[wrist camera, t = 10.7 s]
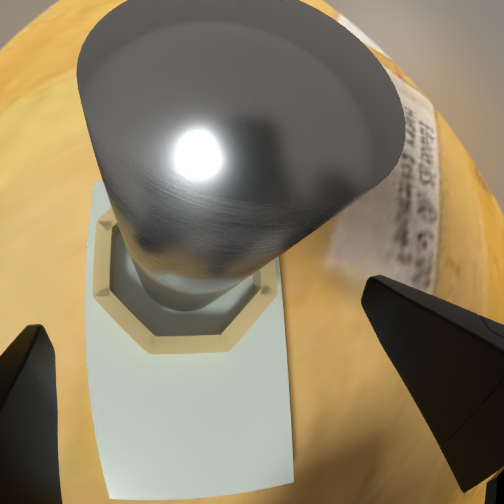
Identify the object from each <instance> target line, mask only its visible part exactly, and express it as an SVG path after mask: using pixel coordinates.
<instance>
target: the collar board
mask: <svg viewBox="0 0 504 504" xmlns="http://www.w3.org/2000/svg"><path fill="white" fill-rule="evenodd" d="M85 342H86V360H87V373H88V383H89V393H90V401H91V409H92V416H93V423H94V429H95V435H96V440H97V446H98V451H99V456H100V461H101V465H102V470H103V474H104V478H105V482H106V486H107V490H108V493H109V497H110V499H127V500H176V499H193V498H205V497H215V496H223V495H231V494H238V493H244V492H250V491H256V490H261V489H266V488H271V487H276V486H280V485H285V484H289V483H293V482H294V472H293V450H292V431H291V413H290V396H289V380H288V366H287V351H286V338H285V325H284V312H283V300H282V288H281V277H280V265H279V256H278V257H277V258H275V259H274V260H272V261H271V262H270V263H268V264H267V265H265V266H264V267H262V268H261V269H260V270H258V271H257V272H255V273H254V274H252V275H251V276H250V277H248V278H247V279H245V280H244V281H242V282H241V283H240V284H238V285H237V286H235V287H234V288H232V289H231V290H230V291H228V292H227V293H225V294H224V295H222V296H221V297H219V298H218V299H217V300H215V301H214V302H212V303H211V304H209V305H207V306H206V307H204V308H201V309H199V310H195V311H188V312H180V311H174V310H171V309H168V308H165V307H163V306H161V305H160V304H158V303H157V302H155V301H154V300H153V299H152V298H151V297H150V296H149V295H148V293H147V292H146V291H145V289H144V287H143V286H142V283H141V281H140V279H139V276H138V274H137V272H136V269H135V267H134V264H133V262H132V260H131V257H130V255H129V252H128V250H127V247H126V244H125V242H124V239H123V237H122V234H121V231H120V229H119V226H118V223H117V221H116V218H115V215H114V212H113V209H112V206H111V204H110V201H109V198H108V195H107V192H106V189H105V186H104V183H103V181H94V188H93V194H92V202H91V210H90V219H89V228H88V239H87V253H86V271H85Z"/></svg>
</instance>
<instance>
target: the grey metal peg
mask: <svg viewBox="0 0 504 504" xmlns="http://www.w3.org/2000/svg"><path fill="white" fill-rule="evenodd" d="M77 82H78V89H79V94H80V99H81V103H82V107H83V112H84V116H85V120H86V124H87V128H88V131H89V135H90V139H91V142H92V146H93V150H94V153H95V156H96V160H97V163H98V167H99V170H100V173H101V176H102V179H103V183H104V186H105V189H106V192H107V195H108V198H109V201H110V204H111V206H112V209H113V212H114V215H115V218H116V221H117V223H118V226H119V229H120V231H121V234H122V237H123V239H124V242H125V244H126V247H127V250H128V252H129V255H130V257H131V260H132V262H133V264H134V267H135V269H136V272H137V274H138V276H139V279H140V281H141V283H142V286H143V287H144V289H145V291H146V292H147V293H148V295H149V296H150V297H151V298H152V299H153V300H154V301H155V302H157V303H158V304H160V305H161V306H163V307H165V308H168V309H171V310H174V311H180V312H188V311H195V310H199V309H201V308H204V307H206V306H207V305H209V304H211V303H212V302H214V301H215V300H217V299H218V298H219V297H221V296H222V295H224V294H225V293H227V292H228V291H230V290H231V289H232V288H234V287H235V286H237V285H238V284H240V283H241V282H242V281H244V280H245V279H247V278H248V277H250V276H251V275H252V274H254V273H255V272H257V271H258V270H260V269H261V268H262V267H264V266H265V265H267V264H268V263H270V262H271V261H272V260H274V259H275V258H277V257H278V256H279V255H281V254H282V253H284V252H285V251H287V250H288V249H289V248H291V247H292V246H294V245H295V244H296V243H298V242H299V241H301V240H302V239H303V238H305V237H306V236H308V235H309V234H310V233H312V232H313V231H315V230H316V229H317V228H319V227H320V226H322V225H323V224H324V223H326V222H327V221H329V220H330V219H331V218H333V217H334V216H335V215H337V214H338V213H340V212H341V211H342V210H344V209H345V208H347V207H348V206H349V205H351V204H352V203H353V202H355V201H356V200H358V199H359V198H360V197H362V196H363V195H364V194H366V193H367V192H368V191H370V190H371V189H373V188H374V187H375V186H377V185H378V184H379V183H380V182H381V181H382V180H383V179H385V178H386V177H387V176H388V175H389V174H390V172H391V171H392V170H393V168H394V167H395V165H396V164H397V162H398V160H399V158H400V155H401V153H402V150H403V146H404V141H405V118H404V112H403V108H402V104H401V101H400V98H399V95H398V93H397V91H396V88H395V86H394V84H393V82H392V81H391V79H390V77H389V75H388V74H387V72H386V70H385V69H384V68H383V66H382V65H381V63H380V62H379V61H378V59H377V58H376V57H375V56H374V55H373V53H372V52H371V51H370V50H369V49H368V48H367V47H366V46H365V45H364V44H363V43H362V42H361V41H360V40H359V39H358V38H357V37H356V36H355V35H353V34H352V33H351V32H350V31H349V30H347V29H346V28H345V27H344V26H342V25H341V24H339V23H338V22H337V21H335V20H334V19H332V18H331V17H329V16H328V15H326V14H324V13H323V12H321V11H319V10H317V9H316V8H314V7H312V6H310V5H308V4H306V3H304V2H301V1H299V0H127V1H126V2H124V3H122V4H120V5H119V6H117V7H116V8H114V9H113V10H112V11H110V12H109V13H108V14H107V15H106V16H104V17H103V18H102V19H101V20H100V21H99V22H98V23H97V24H96V26H95V27H94V28H93V29H92V30H91V32H90V33H89V35H88V36H87V38H86V40H85V42H84V44H83V45H82V48H81V51H80V54H79V57H78V63H77Z"/></svg>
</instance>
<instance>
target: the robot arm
mask: <svg viewBox="0 0 504 504" xmlns="http://www.w3.org/2000/svg"><path fill="white" fill-rule="evenodd" d="M361 304H362V307H363V309H364V311H365V313H366V315H367V317H368V319H369V321H370V323H371V325H372V327H373V329H374V331H375V333H376V335H377V337H378V339H379V341H380V343H381V345H382V347H383V348H384V350H385V352H386V354H387V355H388V357H389V358H390V360H391V362H392V363H393V365H394V367H395V368H396V370H397V372H398V373H399V375H400V377H401V378H402V380H403V382H404V384H405V385H406V387H407V389H408V390H409V392H410V394H411V396H412V397H413V399H414V401H415V403H416V404H417V406H418V408H419V410H420V411H421V413H422V415H423V417H424V419H425V420H426V422H427V424H428V426H429V428H430V430H431V431H432V433H433V435H434V437H435V439H436V441H437V443H438V444H439V446H440V449H441V451H442V453H443V454H444V456H445V458H446V460H447V462H448V464H449V466H450V468H451V470H452V472H453V474H454V476H455V478H456V480H457V482H458V484H459V486H460V488H461V490H462V492H463V493H465V492H467V491H468V490H470V489H471V488H473V487H475V486H476V485H478V484H479V483H481V482H482V481H484V480H485V479H487V478H488V477H489V476H491V475H492V474H494V473H495V472H497V471H498V472H497V473H496V474H495V475H494V476H493V477H492V478H491V479H490V480H489V481H488V482H487V486H486V496H485V504H504V325H503V324H500V323H498V322H495V321H493V320H490V319H488V318H485V317H483V316H481V315H478V314H476V313H473V312H471V311H469V310H466V309H464V308H462V307H459V306H457V305H454V304H452V303H449V302H447V301H445V300H442V299H440V298H437V297H435V296H432V295H430V294H427V293H425V292H422V291H420V290H418V289H415V288H413V287H410V286H408V285H405V284H403V283H400V282H398V281H395V280H392V279H390V278H387V277H385V276H382V275H377V276H372V277H369V278H368V280H367V282H366V285H365V288H364V292H363V295H362V298H361ZM0 504H62V496H61V487H60V476H59V461H58V408H57V391H56V367H55V351H54V348H53V345H52V343H51V341H50V339H49V337H48V335H47V332H46V330H45V328H44V327H43V325H41V324H34V325H28V326H26V327H25V329H24V330H23V331H22V332H21V333H20V334H19V335H18V336H17V337H16V338H15V340H14V341H13V342H12V343H11V344H10V345H9V346H8V348H7V349H6V350H5V351H4V352H3V353H2V355H1V356H0Z"/></svg>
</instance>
